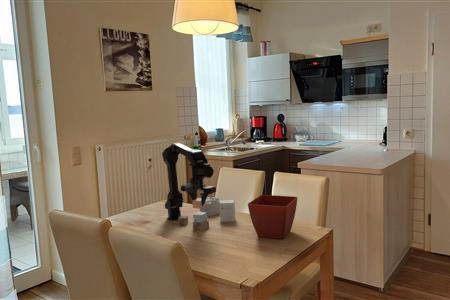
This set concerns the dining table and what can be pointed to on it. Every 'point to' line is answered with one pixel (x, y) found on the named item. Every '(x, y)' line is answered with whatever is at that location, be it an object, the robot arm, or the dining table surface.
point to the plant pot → (272, 215)
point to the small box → (227, 211)
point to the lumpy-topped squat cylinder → (211, 206)
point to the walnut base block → (201, 225)
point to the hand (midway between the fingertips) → (199, 205)
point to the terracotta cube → (197, 203)
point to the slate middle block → (200, 217)
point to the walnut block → (183, 220)
